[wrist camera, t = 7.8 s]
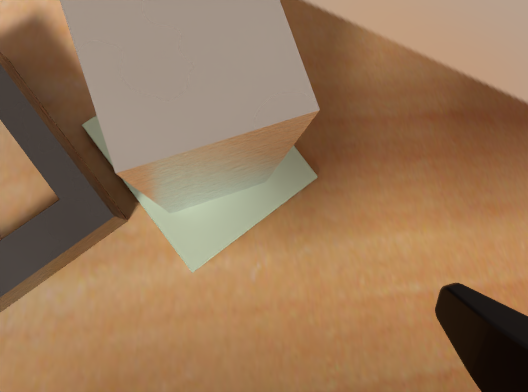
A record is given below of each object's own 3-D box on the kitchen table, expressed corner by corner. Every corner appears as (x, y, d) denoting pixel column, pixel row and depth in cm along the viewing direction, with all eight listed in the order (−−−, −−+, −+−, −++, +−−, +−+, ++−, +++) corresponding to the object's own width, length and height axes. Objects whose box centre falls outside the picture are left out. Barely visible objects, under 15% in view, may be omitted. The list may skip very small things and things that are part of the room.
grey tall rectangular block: (265, 182, 19) (319, 110, 9) (170, 214, 18) (115, 173, 8) (233, 91, 19) (252, -75, 9) (139, 119, 19) (50, -27, 9)
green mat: (315, 178, 19) (318, 176, 19) (192, 272, 18) (192, 272, 18) (212, 43, 20) (212, 39, 19) (84, 127, 19) (81, 124, 18)
